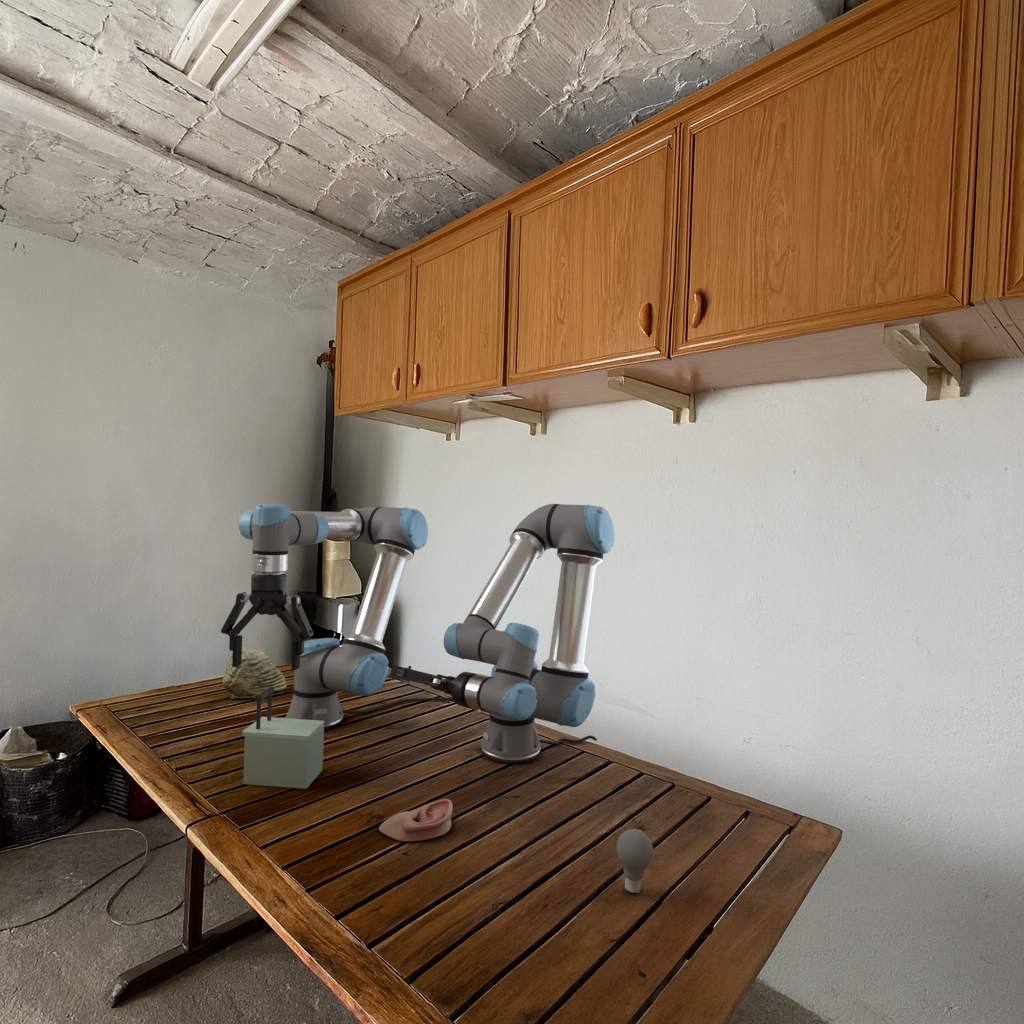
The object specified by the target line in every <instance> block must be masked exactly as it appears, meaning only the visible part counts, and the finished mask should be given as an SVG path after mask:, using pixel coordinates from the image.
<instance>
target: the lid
mask: <svg viewBox="0 0 1024 1024" xmlns="http://www.w3.org/2000/svg"><path fill="white" fill-rule="evenodd" d="M274 691H275V689H274V688H273V687H269V688H267V689H266V690H264V691H262V692H261V693H259V694H258V695H256V696H255V697H254V701H255V702H256V715H255V716H256V718H255V719H256V720H255V721H254V722H253V723H251V724H250V725H249V726H248V727H246V728H245V729H243V730H242V731H241V737H245V736H248V737H262V738H277V739H292V740H306V741H308V740H309V739H311V738H312V737H313V736H314V735H315V734H316V733H317V732H318V731H319V730H320V729H321V728H322V727H323V726H324V721H319V720H304V719H289V718H286V717H273V716H272V709H273V708H272V707H273V695H272V694H273V693H274ZM265 699H267V713H266V714H267V716H262V702H263V701H264V700H265Z"/></svg>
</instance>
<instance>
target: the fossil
mask: <svg viewBox="0 0 1024 1024" xmlns="http://www.w3.org/2000/svg"><path fill="white" fill-rule="evenodd" d="M232 656H233V652H232V653H231V656H230V657H229V659H228V660H227V663H226V666H225V668H224V671H223V675H222V676H223V677H222V685H223V687H224V688H225V690H226V691H228V693H229V698H230V699H250V698H255V696H256V695H258V694H259V693H261V692H262V691H264V690H266V689H267V688H269V687H273V688H274V689H275V691H274V693H273V694H272V696H275V695H281V694H284V693H285V691H286V689H287V687H288V686H287V680H286V678H285V676H284V674H283V673H282V672H281V669H279V668H278V667H277V665H276V663H275V662H274V660H273V659H272V658H271V657H270V656H269V655H268V654H267V653H266V652H265V650H264V649H263V648H260V647H258V648H251V647H247V646H246V647H245V646H242V660H241V664H240V665H238V666H236V667H232Z"/></svg>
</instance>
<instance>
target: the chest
mask: <svg viewBox="0 0 1024 1024" xmlns="http://www.w3.org/2000/svg"><path fill="white" fill-rule="evenodd" d="M324 741H325V731H324V726H323V727H322V728H321V729H320V730H319V731H318V732H317V733H316V734H315V735H314V736H313V737H312V738H311V739H309V740H308V741H306V740H292V739H277V738H262V737H248V736H244V747H243V748H244V753H243V778H242V779H243V781H242V784H243V785H248V786H249V785H251V786H263V787H264V786H265V787H278V788H290V789H291V788H292V789H308V788H309V787H310V785H311V784H312V783H313V782H314V781H315V780H316V779H317V778H318V776H319V775H320V774H321V773H322V771H323V769H324V768H323V767H324V743H325V742H324Z"/></svg>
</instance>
